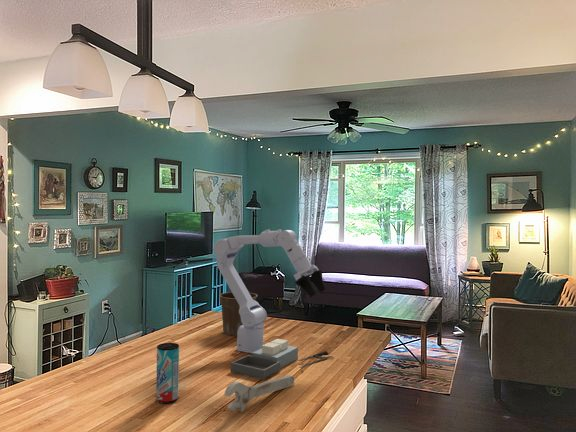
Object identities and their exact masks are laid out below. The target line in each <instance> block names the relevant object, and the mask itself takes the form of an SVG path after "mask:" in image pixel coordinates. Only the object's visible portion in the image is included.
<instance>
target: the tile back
mask: <svg viewBox="0 0 576 432" xmlns="http://www.w3.org/2000/svg"><path fill="white" fill-rule="evenodd" d="M270 342H271V343H276V344H280V351H282V350H284V349H286V348H288V346H289V340H288V339H280V338H275V339H273V340H272V341H270Z"/></svg>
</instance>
